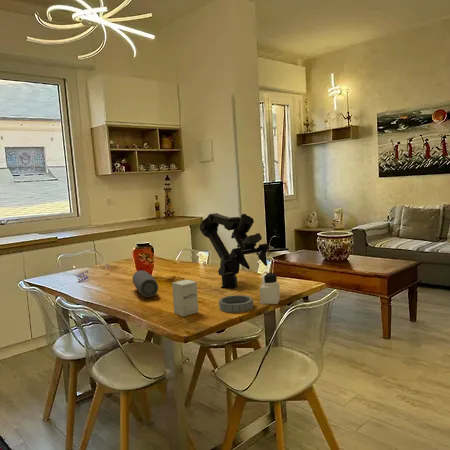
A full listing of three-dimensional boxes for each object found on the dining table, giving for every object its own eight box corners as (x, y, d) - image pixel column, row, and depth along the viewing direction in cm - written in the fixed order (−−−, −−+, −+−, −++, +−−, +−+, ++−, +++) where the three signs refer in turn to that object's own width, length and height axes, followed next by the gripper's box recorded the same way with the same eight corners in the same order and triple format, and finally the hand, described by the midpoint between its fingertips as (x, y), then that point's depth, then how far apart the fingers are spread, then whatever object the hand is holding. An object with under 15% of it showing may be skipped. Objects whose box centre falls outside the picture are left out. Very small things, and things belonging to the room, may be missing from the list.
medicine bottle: (280, 299, 183) (278, 271, 182) (277, 304, 176) (276, 275, 175) (263, 299, 185) (262, 271, 184) (260, 304, 178) (259, 275, 177)
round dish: (213, 311, 172) (213, 303, 171) (227, 301, 184) (227, 294, 184) (245, 314, 166) (245, 305, 166) (257, 303, 178) (257, 296, 178)
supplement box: (183, 317, 167) (180, 285, 166) (173, 312, 173) (171, 282, 172) (199, 312, 171) (197, 281, 170) (189, 308, 177) (187, 278, 176)
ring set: (87, 287, 234) (77, 268, 233) (76, 291, 241) (67, 272, 240) (121, 269, 253) (112, 251, 252) (110, 272, 260) (102, 255, 259)
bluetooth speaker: (132, 290, 214) (130, 270, 213) (150, 287, 217) (149, 267, 216) (139, 301, 193) (137, 279, 192) (160, 298, 196) (158, 276, 195)
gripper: (230, 230, 184) (246, 259, 176) (266, 225, 193) (282, 252, 185) (222, 246, 192) (237, 274, 183) (256, 241, 201) (272, 267, 193)
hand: (258, 267), depth 186 cm, fingers open, 9 cm apart
